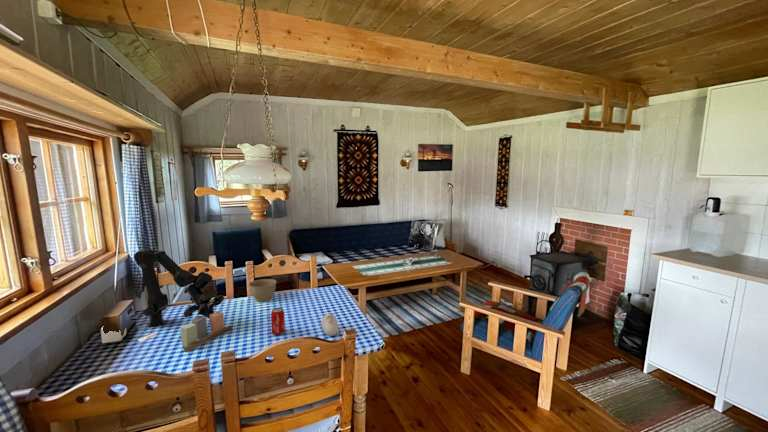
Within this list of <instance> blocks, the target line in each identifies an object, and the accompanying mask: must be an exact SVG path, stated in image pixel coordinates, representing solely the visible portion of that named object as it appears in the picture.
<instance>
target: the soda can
mask: <svg viewBox="0 0 768 432" xmlns="http://www.w3.org/2000/svg"><path fill="white" fill-rule="evenodd" d="M270 321H271V324H270V325H271V327H270V328H271V334H272V335H276V336H279V335H282V334H283V333H285V327H286V324H285V323H286V322H285V311H284V308H282V307H275V308H273V309H271V313H270Z"/></svg>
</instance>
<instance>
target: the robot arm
mask: <svg viewBox="0 0 768 432" xmlns="http://www.w3.org/2000/svg"><path fill="white" fill-rule="evenodd" d="M133 259H134V261H135V264H136V265H137V266H138V267H139V268H141V270H142V273H143V276H144V277H143V278H144V280H145V284H146V287H147V291H148V299H147V307H146V308H145V309H144V310H143V311H142V312H143V314H144V316H147V317H148V320H149V321H148V328H152V327H157V326H162V325H164V324H165V319H164V317H163V316H164V315H163V311H165V310H166V309H167V307H168V305H169V301H170V300H169V297H168V293H165V294H164V293H163V292H162V291H161V287H160V283H159V280H158V276H157V273H156V269H155V262H156V261H157V262H158V264H159V265H161V267H163V269H165V270H166V271H167V272H168V273H169V274H170V275H171V276H172V277H173V281H174V283H175V284H176V285H177V286H178V287H179V288H185V289H184V291H183V293H184V294H189V296H190V297H191V299H192V300H191V302H192V303H194V304H192V305H190V306H187V308H186V309H185V310H184V312H183V316H184V318H185V319H187V318H190V317H192V316H193V313H194V312H197V315H200V316H203V317H206V319H207V318H208V319H209V320H210V318H209V315H210V314H213V313H215V312H214V307H217V306H220V305H221V304H222V303H223V301H224V300H225V297H224V295H223V294H219V295H217V294H218V291H217V289H216V288H211V289H210V290H209V291H204V290H203V289H205V288H206V287H208V286H209V285H210V283H211V282H212V281H213V276H212V275H211V274H209V273H207V272H205V271H201V272H199V273H198V274H197V275H194V274H193V273H191V272H190V271H189V270H186V269H183V268H182V267H180V266H179V265H178V264H177V263H176V261H174V259H172V258H171V257H170V256H169V255H168V254H167V252H166V251H164V250H157V249H155V250H154V249H153V250H152V249H151V248H147V249H143V250H139V251H136V252H135V253H134V254H133ZM216 295H217V296H216Z"/></svg>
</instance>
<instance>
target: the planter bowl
mask: <svg viewBox="0 0 768 432" xmlns="http://www.w3.org/2000/svg"><path fill="white" fill-rule="evenodd" d="M248 287H249V292H250V294H251V296H252V297H253V298H254V300H255V301H256V302H257V303H260V302H268V301H270V300H272V297H273V295H274V294H275V291H276V287H277V280H276V279H271V278H263V279H262V278H261V279H256V280H253V281H251V282H249V283H248Z"/></svg>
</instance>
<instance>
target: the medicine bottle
mask: <svg viewBox="0 0 768 432" xmlns="http://www.w3.org/2000/svg"><path fill="white" fill-rule="evenodd" d="M100 335H101V343H102V344H108V343H113V342H114V343H115V342H121V341H122V340H123V339H124V338H123V337H125V336H126V335H127V327H126V328H125V330H124V334H123V336H122V335H121V331H120V330H119V332H116V331H114V332H113V331H109V332H108V333H106V334H105V333H104V331H103V327H101V329H100Z"/></svg>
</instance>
